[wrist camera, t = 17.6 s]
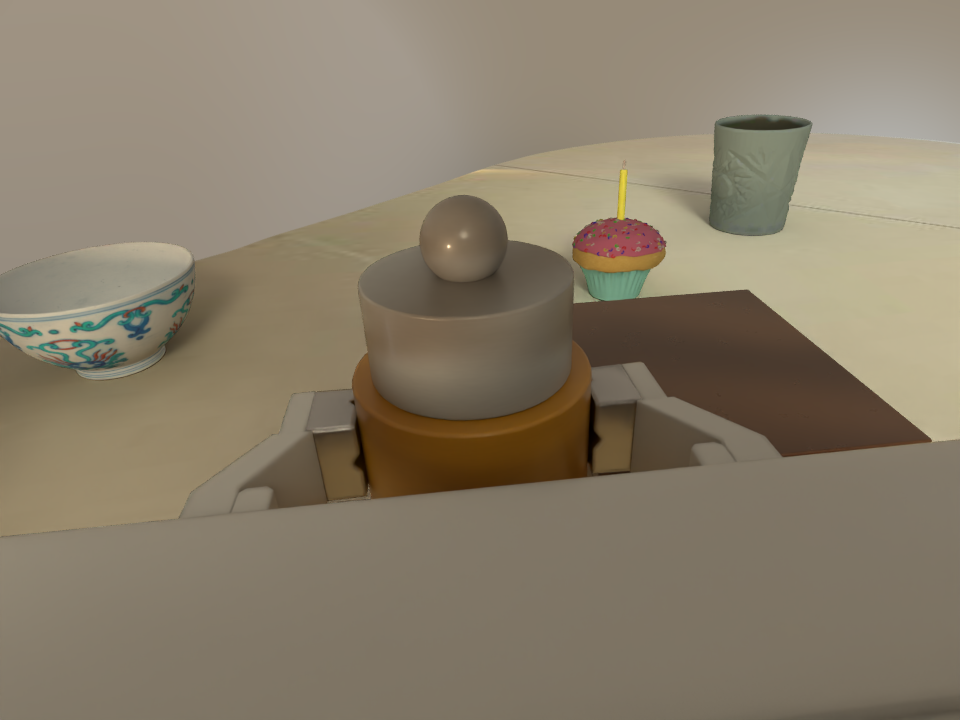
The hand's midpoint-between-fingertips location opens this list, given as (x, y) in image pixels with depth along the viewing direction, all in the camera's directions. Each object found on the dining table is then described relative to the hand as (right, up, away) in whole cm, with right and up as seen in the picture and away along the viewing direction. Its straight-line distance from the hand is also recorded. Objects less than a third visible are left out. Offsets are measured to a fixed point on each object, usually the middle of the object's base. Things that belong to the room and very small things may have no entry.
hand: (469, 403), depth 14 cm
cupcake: (+13, +7, +46) cm, 48 cm away
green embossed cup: (+33, +17, +62) cm, 72 cm away
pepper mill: (+1, -11, +5) cm, 13 cm away
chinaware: (-30, +1, +38) cm, 48 cm away
